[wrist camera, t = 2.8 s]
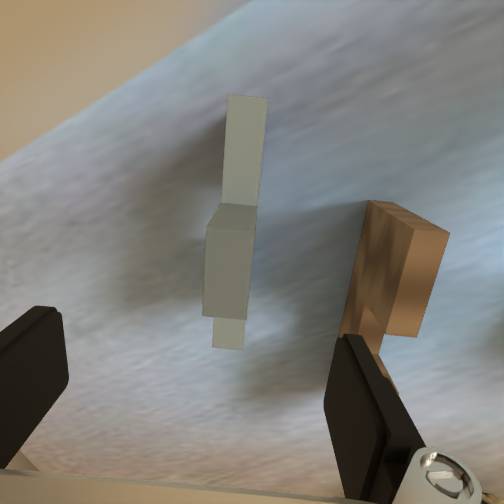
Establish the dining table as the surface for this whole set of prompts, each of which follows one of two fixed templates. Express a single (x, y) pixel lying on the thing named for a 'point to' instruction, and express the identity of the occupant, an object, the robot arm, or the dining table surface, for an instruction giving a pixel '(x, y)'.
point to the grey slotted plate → (240, 183)
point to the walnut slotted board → (392, 275)
